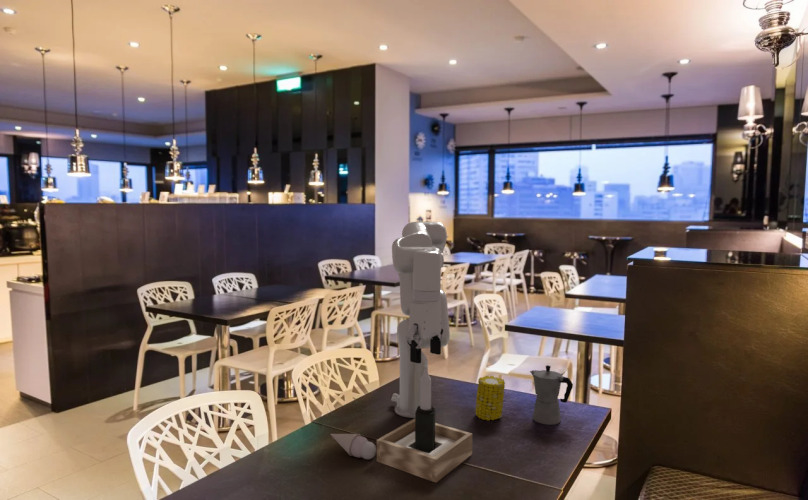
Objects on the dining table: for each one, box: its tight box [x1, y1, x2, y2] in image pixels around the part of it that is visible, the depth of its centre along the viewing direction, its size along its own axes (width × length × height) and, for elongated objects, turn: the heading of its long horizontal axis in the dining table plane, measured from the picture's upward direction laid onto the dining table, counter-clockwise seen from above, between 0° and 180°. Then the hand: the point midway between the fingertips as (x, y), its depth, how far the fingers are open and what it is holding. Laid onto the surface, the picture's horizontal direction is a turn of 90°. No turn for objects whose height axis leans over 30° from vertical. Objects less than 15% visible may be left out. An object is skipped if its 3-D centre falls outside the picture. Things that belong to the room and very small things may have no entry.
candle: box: [415, 367, 436, 453], centre depth 145 cm, size 5×5×25 cm
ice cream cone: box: [330, 433, 377, 460], centre depth 147 cm, size 6×6×15 cm
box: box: [376, 418, 473, 483], centre depth 145 cm, size 19×19×6 cm
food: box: [474, 375, 506, 422], centre depth 174 cm, size 14×11×9 cm
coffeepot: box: [529, 364, 574, 426], centre depth 171 cm, size 15×9×18 cm, turn 43°
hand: (425, 357), depth 144 cm, fingers open, 9 cm apart
